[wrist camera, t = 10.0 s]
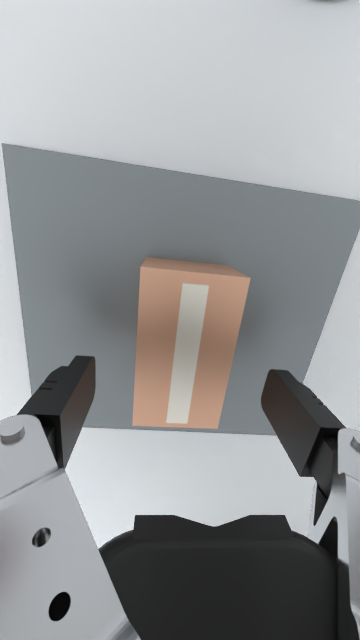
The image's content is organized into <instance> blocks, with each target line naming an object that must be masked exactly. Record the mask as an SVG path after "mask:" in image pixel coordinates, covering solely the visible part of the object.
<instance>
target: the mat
mask: <svg viewBox="0 0 360 640" xmlns="http://www.w3.org/2000/svg"><path fill="white" fill-rule="evenodd" d="M2 150H3V158H4V166H5V175H6V183H7V192H8V200H9V208H10V217H11V225H12V234H13V242H14V250H15V259H16V267H17V276H18V284H19V293H20V301H21V309H22V318H23V326H24V335H25V343H26V351H27V360H28V368H29V377H30V385H31V393H32V395H33V394H34V393H35V392H36V390H37V389H39V387H40V385H41V384H42V383H43V382H44V380H45V379H46V378H47V377H48V375H49V374H50V373H51V372H52V371H54V370H56V369H57V368H59V367H60V366H69V364H70V363H71V362H72V360H73V359H74V357H75V356H76V355H81V356H94V357H95V362H96V388H95V395H94V399H93V402H92V405H91V407H90V409H89V412H88V414H87V417H86V419H85V422H84V424H83V426H82V427H90V428H113V429H137V430H161V431H185V432H208V433H232V434H256V435H276V433H275V431H274V429H273V428H272V426H271V424H270V422H269V420H268V419H267V417H266V415H265V413H264V411H263V410H262V406H261V395H262V392H263V388H264V385H265V381H266V378H267V374H268V372H269V370H271V369H278V370H288V371H289V372H290V373H291V374H292V375H293V376H294V377H295V378H296V380H297V381H299V382H300V383H303V380H304V378H305V375H306V372H307V369H308V367H309V364H310V361H311V359H312V356H313V353H314V350H315V348H316V345H317V342H318V340H319V337H320V334H321V331H322V329H323V326H324V323H325V321H326V318H327V315H328V312H329V310H330V307H331V304H332V302H333V299H334V296H335V293H336V291H337V288H338V285H339V283H340V280H341V277H342V274H343V272H344V269H345V266H346V264H347V261H348V258H349V255H350V253H351V250H352V247H353V245H354V242H355V239H356V236H357V234H358V231H359V228H360V201H357V200H351V199H345V198H338V197H332V196H326V195H320V194H314V193H307V192H301V191H295V190H289V189H283V188H276V187H270V186H264V185H258V184H252V183H245V182H239V181H233V180H227V179H221V178H214V177H208V176H202V175H196V174H190V173H183V172H177V171H171V170H165V169H159V168H152V167H146V166H140V165H134V164H128V163H121V162H115V161H109V160H103V159H97V158H90V157H84V156H78V155H72V154H66V153H59V152H53V151H47V150H41V149H35V148H28V147H22V146H16V145H10V144H4V143H2ZM146 257H154V258H163V259H172V260H182V261H191V262H200V263H210V264H219V265H228V266H230V267H232V268H234V269H235V270H237V271H239V272H241V273H243V274H244V275H246V276H248V277H250V278H251V279H250V284H249V288H248V293H247V297H246V302H245V306H244V311H243V315H242V320H241V325H240V329H239V334H238V338H237V343H236V347H235V352H234V356H233V361H232V366H231V370H230V375H229V379H228V384H227V388H226V393H225V398H224V402H223V407H222V411H221V416H220V420H219V425H218V429H210V428H180V427H151V426H132V421H133V402H134V382H135V363H136V344H137V325H138V305H139V286H140V267H141V265H142V263H143V262H144V260H145V258H146Z"/></svg>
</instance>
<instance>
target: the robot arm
mask: <svg viewBox="0 0 360 640" xmlns="http://www.w3.org/2000/svg"><path fill="white" fill-rule="evenodd" d="M95 388H96V362H95V357H94V356H81V355H76V356H75V357H74V359H73V360H72V362H71V363H70V364H69V366H60V367H59V368H57V369H56V370H54V371H52V372H51V373H50V374H49V375H48V377H47V378H46V379H45V380H44V382H43V383H42V384H41V385H40V387H39V389H37V390H36V392H35V393H34V394H33V395H32V397H31V398H30V399H29V400H28V402H27V403H26V404H25V405H24V407H23V408H22V409H21V410H20V412H19V413H18V414H17V415H16V416H12V417H8V418H6V419H3V420H1V421H0V640H360V431H357V430H354V429H350V428H346V427H345V426H344V425H343V424H342V423H341V422H340V421H339V420H338V419H337V418H336V417H335V416H334V414H333V413H332V412H331V411H330V410H329V409H328V408H327V407H326V406H325V405H323V403H322V402H321V401H320V400H319V398H317V396H316V395H315V394H314V393H313V392H312V391H311V390H310V389H309V388H308V387H306V386H305V385H303V384H302V383H300V382H299V381H297V380H296V378H295V377H294V376H293V375H292V374H291V373H290V372H289V371H288V370H278V369H271V370H269V372H268V374H267V378H266V381H265V385H264V388H263V392H262V395H261V406H262V410H263V411H264V413H265V415H266V417H267V419H268V420H269V422H270V424H271V426H272V428H273V429H274V431H275V433H276V435H277V436H278V438H279V440H280V442H281V444H282V445H283V447H284V449H285V451H286V452H287V454H288V456H289V458H290V460H291V461H292V463H293V465H294V467H295V468H296V470H297V472H298V474H299V476H300V477H314V478H315V480H316V482H315V484H314V487H313V494H312V504H311V513H310V522H309V531H308V537H305V536H304V535H301V534H299V533H297V532H294V531H291V529H290V526H289V524H288V522H287V519H286V517H285V515H249V516H246V517H243V518H240V519H237V520H235V521H232V522H229V523H226V524H223V525H220V526H217V527H212V526H208V525H205V524H201V523H198V522H195V521H191V520H188V519H185V518H181V517H178V516H175V515H135V522H134V530H131V531H128V532H125V533H123V534H121V535H119V536H117V537H115V538H113V539H112V540H110V541H108V542H107V543H105V544H104V545H103V546H102V547H100V548H99V549H98V548H97V545H96V543H95V541H94V538H93V536H92V533H91V531H90V529H89V526H88V524H87V521H86V519H85V517H84V514H83V512H82V509H81V507H80V505H79V502H78V500H77V498H76V495H75V493H74V490H73V488H72V486H71V483H70V481H69V478H68V476H67V474H66V472H65V468H66V465H67V463H68V460H69V458H70V455H71V453H72V451H73V448H74V446H75V443H76V441H77V438H78V436H79V434H80V431H81V429H82V426H83V424H84V422H85V419H86V417H87V414H88V412H89V409H90V407H91V405H92V402H93V399H94V395H95Z"/></svg>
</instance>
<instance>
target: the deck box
mask: <svg viewBox="0 0 360 640" xmlns="http://www.w3.org/2000/svg"><path fill="white" fill-rule="evenodd" d="M250 279H251V278H250V277H248V276H246V275H244V274H243V273H241V272H239V271H237V270H235V269H234V268H232V267H230V266H228V265H219V264H210V263H200V262H191V261H182V260H172V259H163V258H154V257H146V258H145V260H144V262H143V263H142V265H141V267H140V286H139V305H138V325H137V344H136V363H135V382H134V402H133V421H132V426H151V427H180V428H210V429H218V425H219V420H220V416H221V411H222V407H223V402H224V398H225V393H226V388H227V384H228V379H229V375H230V370H231V366H232V361H233V356H234V352H235V347H236V343H237V338H238V334H239V329H240V325H241V320H242V315H243V311H244V306H245V302H246V297H247V293H248V288H249V284H250Z"/></svg>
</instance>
